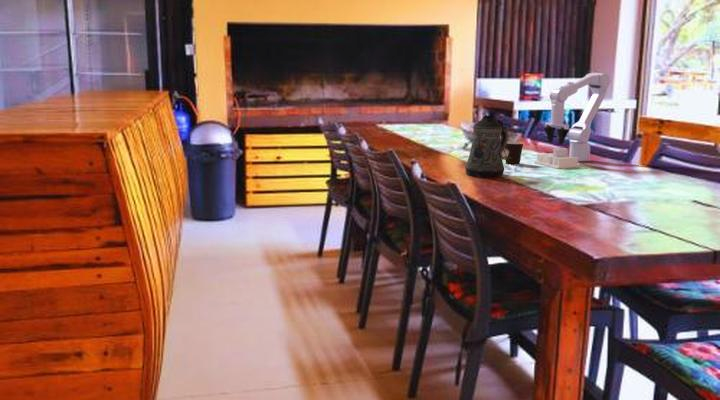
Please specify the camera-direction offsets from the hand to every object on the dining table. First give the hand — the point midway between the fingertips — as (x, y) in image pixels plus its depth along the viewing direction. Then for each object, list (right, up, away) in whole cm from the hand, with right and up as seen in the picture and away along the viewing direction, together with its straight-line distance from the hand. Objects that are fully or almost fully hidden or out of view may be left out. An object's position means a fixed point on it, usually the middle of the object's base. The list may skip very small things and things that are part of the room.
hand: (555, 142), depth 322 cm
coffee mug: (-21, -10, -2) cm, 24 cm away
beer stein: (-39, -16, -31) cm, 53 cm away
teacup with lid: (-25, -6, +17) cm, 31 cm away
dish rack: (-1, -11, -7) cm, 13 cm away
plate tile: (-1, -10, -9) cm, 14 cm away
